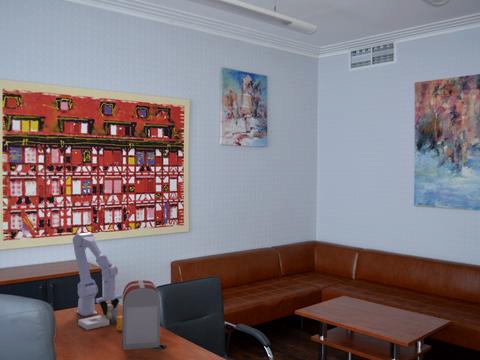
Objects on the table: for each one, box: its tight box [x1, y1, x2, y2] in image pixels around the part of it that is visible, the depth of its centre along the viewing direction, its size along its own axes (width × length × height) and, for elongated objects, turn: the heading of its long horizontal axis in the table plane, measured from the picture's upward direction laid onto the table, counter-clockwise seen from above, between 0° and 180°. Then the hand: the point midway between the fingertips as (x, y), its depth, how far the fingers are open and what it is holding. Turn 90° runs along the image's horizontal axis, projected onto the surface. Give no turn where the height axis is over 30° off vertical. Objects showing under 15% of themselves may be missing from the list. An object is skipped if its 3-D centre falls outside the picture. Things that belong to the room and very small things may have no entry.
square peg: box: [104, 303, 113, 320], centre depth 254 cm, size 3×3×7 cm
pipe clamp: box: [116, 315, 122, 331], centre depth 236 cm, size 12×4×6 cm, turn 65°
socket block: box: [77, 315, 110, 331], centre depth 243 cm, size 10×12×2 cm
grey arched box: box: [121, 279, 161, 351], centre depth 221 cm, size 17×18×27 cm
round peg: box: [110, 307, 119, 324], centre depth 247 cm, size 3×3×7 cm
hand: (109, 314), depth 254 cm, fingers open, 4 cm apart
